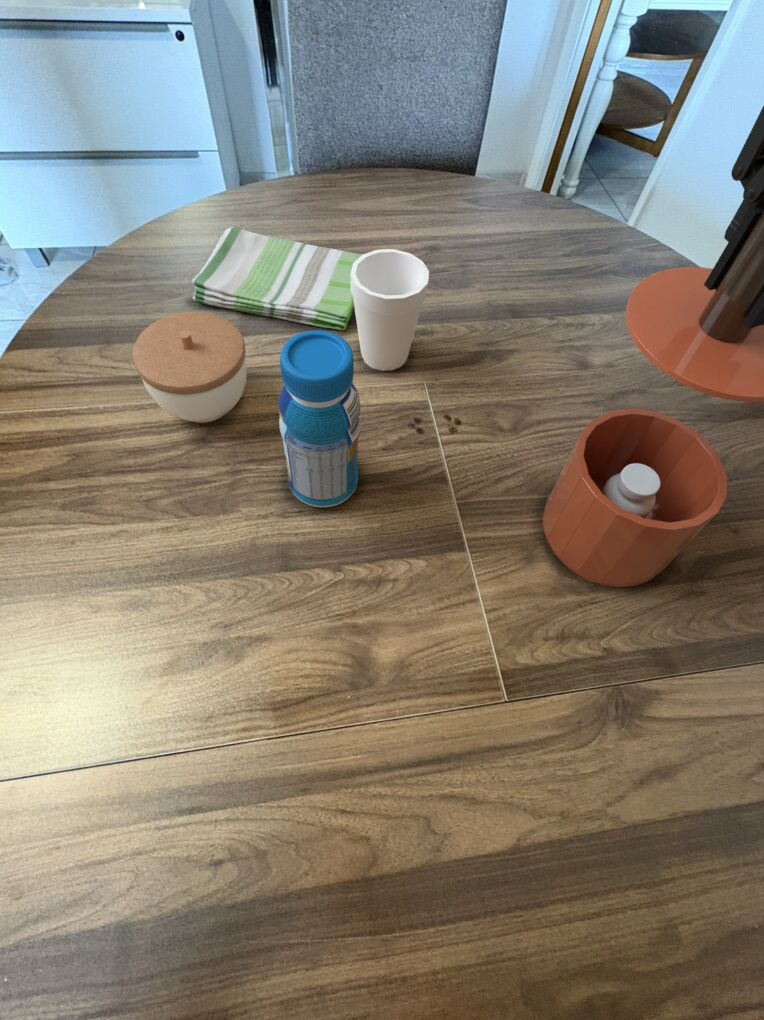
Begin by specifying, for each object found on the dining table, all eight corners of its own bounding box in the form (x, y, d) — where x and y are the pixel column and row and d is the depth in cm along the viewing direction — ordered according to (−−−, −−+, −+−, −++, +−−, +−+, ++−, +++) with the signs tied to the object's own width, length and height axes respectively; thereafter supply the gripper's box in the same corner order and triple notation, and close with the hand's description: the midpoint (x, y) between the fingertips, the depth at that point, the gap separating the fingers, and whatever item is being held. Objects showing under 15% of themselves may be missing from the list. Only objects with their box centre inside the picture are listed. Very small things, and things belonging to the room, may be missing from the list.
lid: (728, 264, 57) (800, 144, 48) (853, 379, 49) (967, 263, 40) (586, 299, 53) (636, 176, 44) (699, 429, 46) (787, 313, 37)
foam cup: (395, 389, 81) (403, 309, 70) (337, 361, 83) (335, 279, 72) (430, 348, 85) (442, 266, 75) (374, 322, 88) (378, 239, 77)
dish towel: (231, 236, 97) (227, 215, 94) (373, 261, 95) (374, 240, 92) (190, 306, 88) (185, 285, 85) (347, 335, 86) (347, 315, 83)
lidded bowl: (187, 355, 82) (166, 285, 73) (271, 383, 80) (261, 315, 71) (133, 420, 76) (103, 353, 67) (223, 453, 74) (205, 388, 65)
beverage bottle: (310, 522, 69) (298, 400, 52) (274, 471, 73) (253, 341, 56) (372, 490, 72) (381, 365, 55) (335, 442, 76) (332, 310, 59)
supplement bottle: (578, 536, 69) (608, 488, 61) (589, 500, 72) (619, 450, 64) (625, 554, 68) (662, 508, 60) (634, 517, 71) (671, 468, 63)
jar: (621, 463, 76) (665, 393, 66) (696, 562, 69) (759, 501, 58) (519, 498, 72) (548, 430, 62) (587, 606, 65) (634, 550, 55)
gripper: (818, -156, 32) (637, 248, 52) (1138, -39, 24) (777, 389, 43) (920, -160, 34) (708, 232, 53) (1251, -52, 25) (855, 364, 45)
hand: (739, 301), depth 48 cm, fingers closed on lid, 4 cm apart
